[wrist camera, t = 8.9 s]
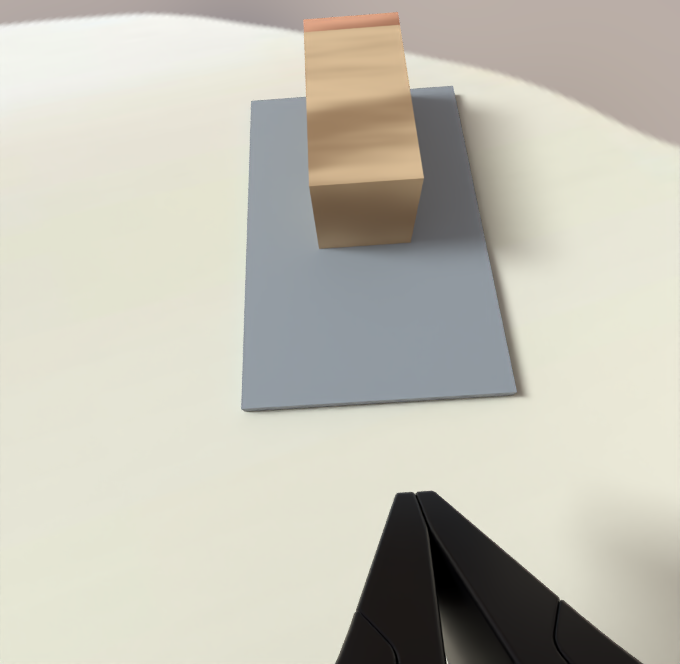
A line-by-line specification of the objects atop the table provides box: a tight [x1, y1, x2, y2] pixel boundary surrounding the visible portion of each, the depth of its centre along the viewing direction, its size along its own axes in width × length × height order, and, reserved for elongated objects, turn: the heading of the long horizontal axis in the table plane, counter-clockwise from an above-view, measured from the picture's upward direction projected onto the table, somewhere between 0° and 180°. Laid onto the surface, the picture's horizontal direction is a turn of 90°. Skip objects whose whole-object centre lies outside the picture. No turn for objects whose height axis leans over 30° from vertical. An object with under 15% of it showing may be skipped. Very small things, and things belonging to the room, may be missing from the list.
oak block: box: [304, 12, 424, 249], centre depth 23 cm, size 5×5×11 cm
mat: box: [241, 86, 517, 411], centre depth 24 cm, size 20×13×1 cm, turn 3°
